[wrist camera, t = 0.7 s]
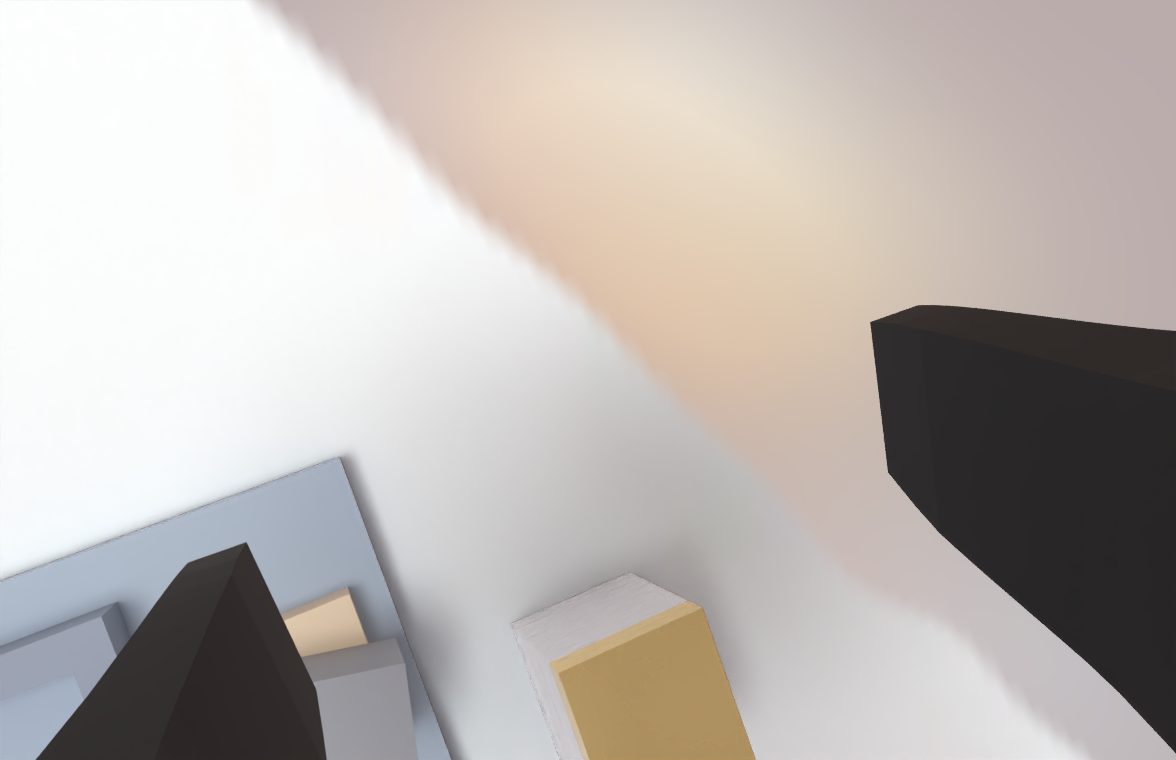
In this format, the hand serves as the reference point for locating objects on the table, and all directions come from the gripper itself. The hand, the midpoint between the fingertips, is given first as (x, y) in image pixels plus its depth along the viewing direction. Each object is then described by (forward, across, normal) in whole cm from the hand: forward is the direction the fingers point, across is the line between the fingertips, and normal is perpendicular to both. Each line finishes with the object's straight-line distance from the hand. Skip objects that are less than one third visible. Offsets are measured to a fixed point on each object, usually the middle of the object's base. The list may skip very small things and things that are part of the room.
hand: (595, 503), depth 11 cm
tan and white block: (+15, -1, +15) cm, 21 cm away
